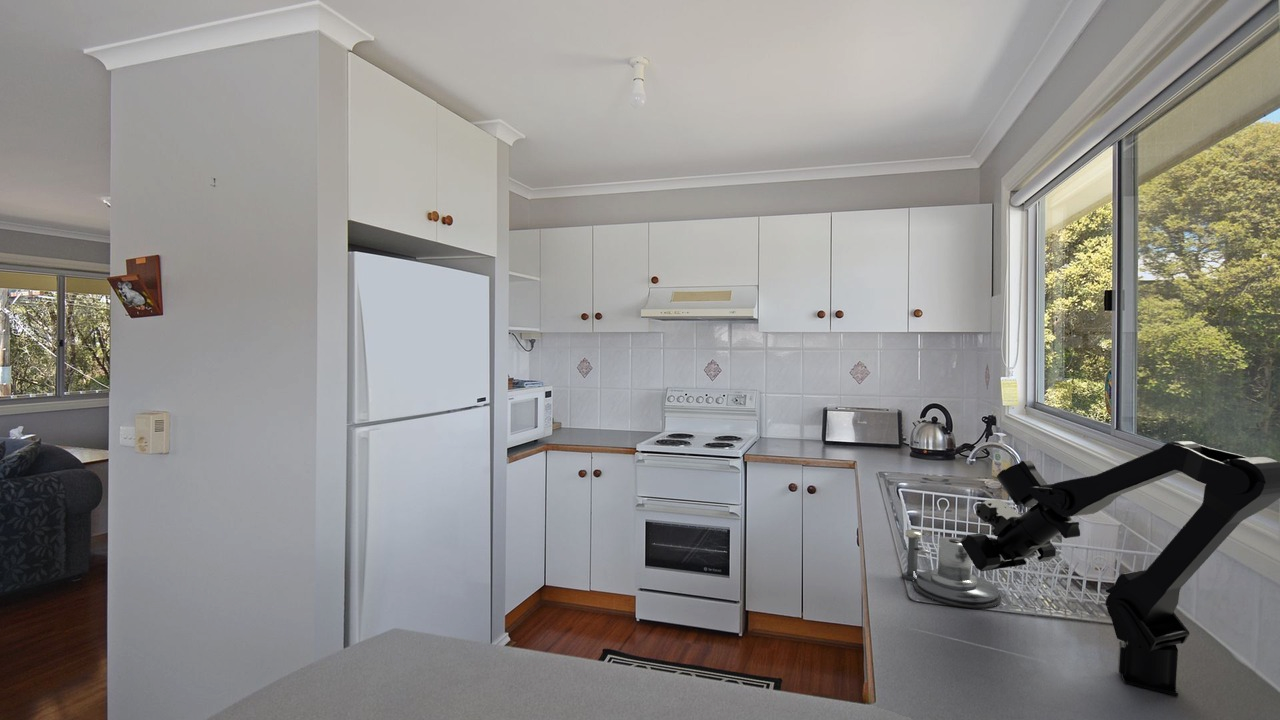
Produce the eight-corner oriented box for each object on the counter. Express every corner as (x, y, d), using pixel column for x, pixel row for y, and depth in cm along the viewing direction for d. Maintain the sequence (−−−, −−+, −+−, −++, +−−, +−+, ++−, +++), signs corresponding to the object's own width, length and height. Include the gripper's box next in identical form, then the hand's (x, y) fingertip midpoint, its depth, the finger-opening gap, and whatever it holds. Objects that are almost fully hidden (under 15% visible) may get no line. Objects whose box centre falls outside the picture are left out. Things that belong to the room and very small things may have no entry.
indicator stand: (900, 577, 141) (902, 531, 141) (908, 574, 143) (910, 528, 143) (924, 585, 137) (927, 537, 137) (932, 581, 139) (934, 534, 139)
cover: (978, 581, 135) (980, 539, 135) (974, 594, 128) (976, 550, 128) (934, 572, 140) (936, 532, 139) (927, 584, 133) (929, 542, 132)
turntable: (1003, 588, 136) (1004, 580, 136) (998, 615, 123) (998, 606, 123) (920, 572, 145) (921, 564, 145) (906, 595, 131) (907, 586, 131)
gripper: (1043, 486, 126) (991, 527, 137) (971, 492, 119) (922, 535, 130) (1082, 538, 119) (1024, 578, 130) (1008, 548, 112) (953, 589, 123)
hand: (980, 568), depth 128 cm, fingers closed
